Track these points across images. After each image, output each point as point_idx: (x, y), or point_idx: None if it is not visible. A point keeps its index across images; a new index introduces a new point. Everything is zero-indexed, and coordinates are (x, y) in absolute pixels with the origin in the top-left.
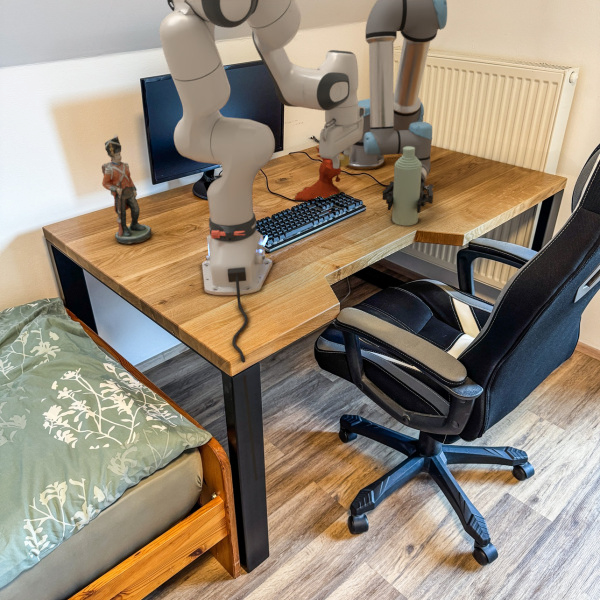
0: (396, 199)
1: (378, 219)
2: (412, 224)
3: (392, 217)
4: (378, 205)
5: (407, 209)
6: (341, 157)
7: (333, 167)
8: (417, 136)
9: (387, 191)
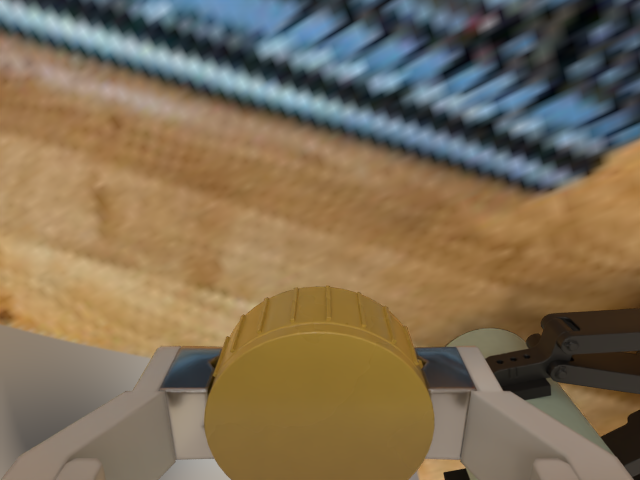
0: None
1: (459, 283)
2: None
3: (465, 344)
4: (616, 223)
5: None
6: (322, 433)
7: (159, 351)
8: None
9: (584, 352)
